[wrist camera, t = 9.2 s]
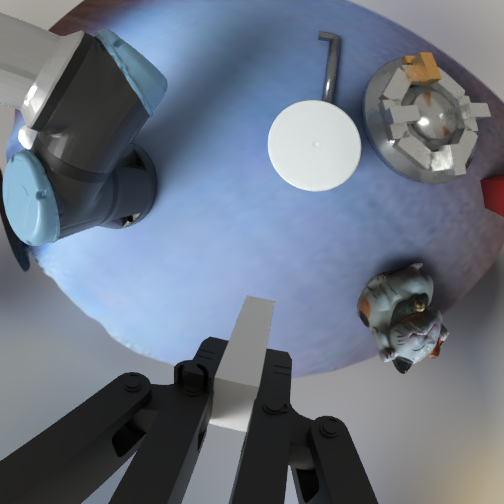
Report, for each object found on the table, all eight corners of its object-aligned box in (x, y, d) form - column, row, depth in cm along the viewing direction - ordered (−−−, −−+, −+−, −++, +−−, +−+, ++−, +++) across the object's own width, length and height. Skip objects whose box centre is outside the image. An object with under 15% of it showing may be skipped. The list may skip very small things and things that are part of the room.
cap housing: (349, 158, 38) (357, 156, 32) (370, 47, 32) (379, 31, 26) (456, 200, 36) (475, 204, 31) (472, 94, 30) (490, 87, 25)
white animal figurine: (24, 150, 37) (3, 148, 39) (55, 149, 45) (31, 147, 47) (30, 117, 35) (8, 120, 37) (61, 120, 43) (35, 121, 45)
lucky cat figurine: (435, 258, 40) (479, 321, 29) (409, 306, 47) (440, 365, 37) (363, 266, 38) (406, 347, 27) (342, 318, 45) (369, 390, 35)
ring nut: (443, 190, 34) (463, 193, 28) (362, 125, 34) (373, 117, 28) (479, 115, 29) (499, 110, 23) (404, 51, 29) (418, 36, 23)
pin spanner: (330, 112, 37) (331, 110, 35) (308, 108, 37) (308, 105, 36) (339, 39, 33) (341, 35, 31) (318, 35, 33) (319, 30, 32)
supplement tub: (271, 126, 39) (258, 103, 25) (334, 119, 37) (353, 92, 23) (281, 190, 41) (274, 198, 27) (344, 182, 39) (369, 187, 25)
